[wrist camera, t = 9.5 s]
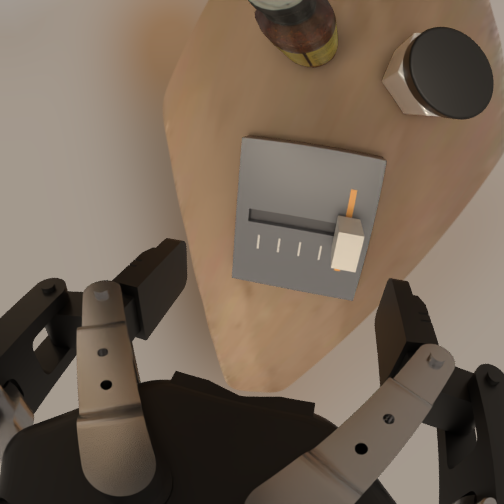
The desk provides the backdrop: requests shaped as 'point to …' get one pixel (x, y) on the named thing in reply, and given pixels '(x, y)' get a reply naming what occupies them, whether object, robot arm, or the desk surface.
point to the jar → (440, 75)
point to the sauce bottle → (299, 29)
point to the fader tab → (347, 244)
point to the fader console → (301, 212)
